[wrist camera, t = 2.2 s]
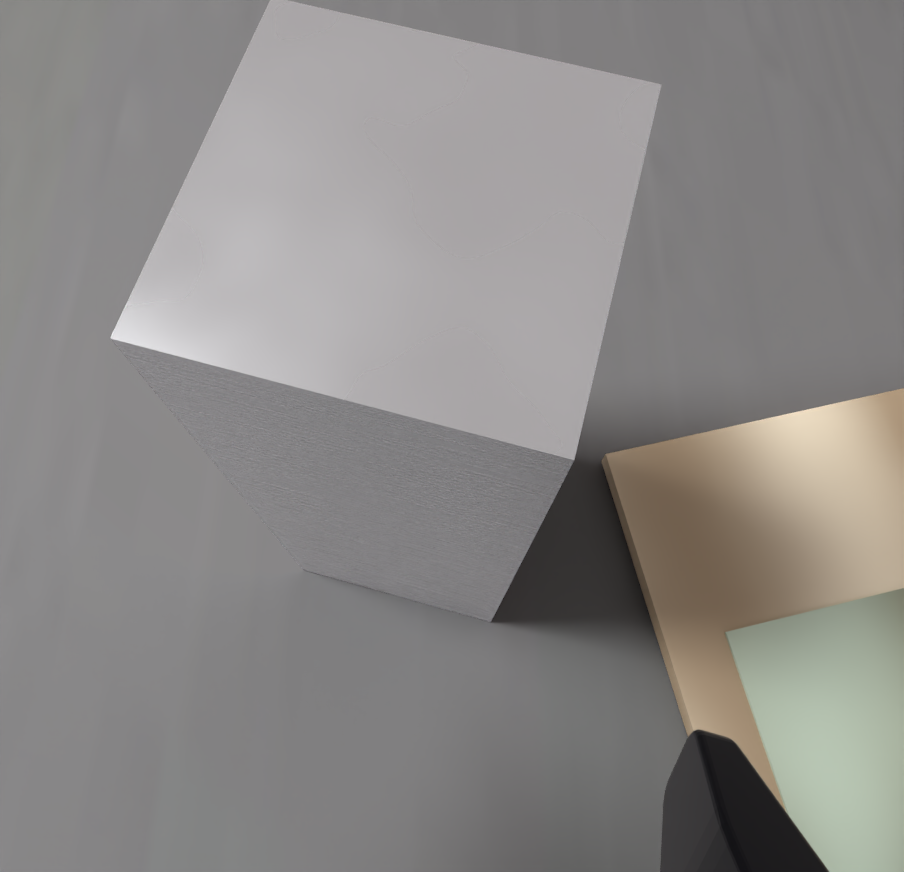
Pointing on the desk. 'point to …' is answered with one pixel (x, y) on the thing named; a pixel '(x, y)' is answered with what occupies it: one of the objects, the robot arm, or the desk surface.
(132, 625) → the desk surface
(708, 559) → the tan wooden shallow tray
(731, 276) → the desk surface
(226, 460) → the aluminium block
